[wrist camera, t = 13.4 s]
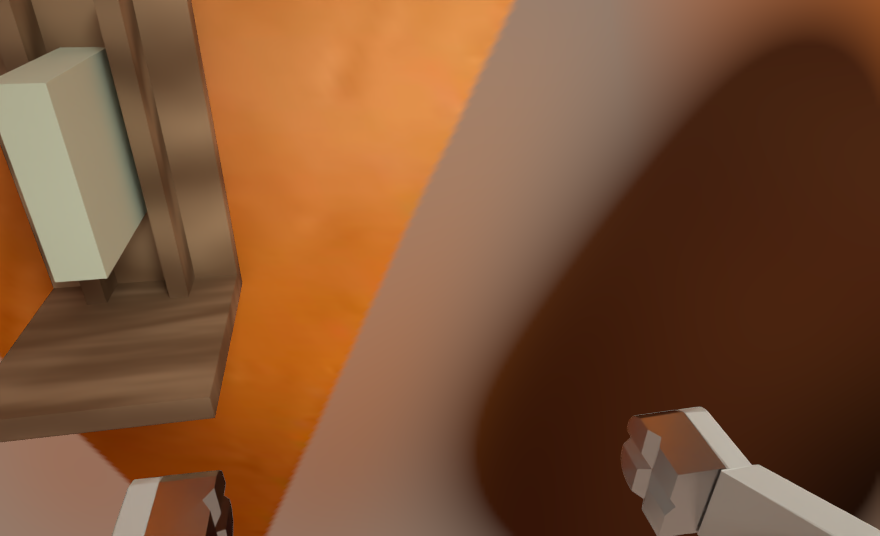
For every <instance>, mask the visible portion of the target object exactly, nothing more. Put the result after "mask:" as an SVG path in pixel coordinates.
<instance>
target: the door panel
mask: <svg viewBox="0 0 880 536" xmlns="http://www.w3.org/2000/svg"><path fill="white" fill-rule="evenodd" d="M0 134H1V137H2V140H3V142H4V145H5V148H6V150H7V153H8V156H9V159H10V161H11V164H12V167H13V169H14V172H15V175H16V177H17V180H18V183H19V186H20V188H21V191H22V194H23V196H24V199H25V202H26V205H27V207H28V210H29V213H30V215H31V218H32V221H33V224H34V226H35V229H36V232H37V234H38V237H39V240H40V242H41V245H42V248H43V251H44V253H45V256H46V259H47V261H48V264H49V267H50V270H51V272H52V275H53V278H54V280H55V282H66V281H80V280H93V279H107V278H108V276H109V275H110V273H111V271H112V270H113V268H114V266H115V265H116V263H117V261H118V259H119V258H120V256H121V254H122V253H123V251H124V249H125V248H126V246H127V244H128V243H129V241H130V239H131V237H132V236H133V234H134V232H135V231H136V229H137V227H138V226H139V224H140V222H141V220H142V219H143V217H144V215H145V214H146V212H147V208H146V204H145V200H144V196H143V192H142V188H141V184H140V181H139V177H138V173H137V169H136V165H135V161H134V157H133V153H132V150H131V146H130V142H129V138H128V134H127V130H126V126H125V122H124V118H123V115H122V111H121V107H120V103H119V99H118V95H117V91H116V87H115V84H114V80H113V76H112V72H111V68H110V64H109V60H108V56H107V53H106V49H105V47H60V48H58V49H56V50H53V51H51V52H49V53H47V54H45V55H43V56H41V57H39V58H37V59H35V60H32V61H30V62H28V63H26V64H24V65H22V66H20V67H18V68H16V69H14V70H12V71H9V72H7V73H5V74H3V75H1V76H0Z"/></svg>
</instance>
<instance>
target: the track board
mask: <svg viewBox="0 0 880 536" xmlns="http://www.w3.org/2000/svg"><path fill="white" fill-rule="evenodd" d="M60 47H105V49H106V53H107V56H108V60H109V64H110V68H111V72H112V76H113V80H114V84H115V87H116V91H117V95H118V99H119V103H120V107H121V111H122V115H123V118H124V122H125V126H126V130H127V134H128V138H129V142H130V146H131V150H132V153H133V157H134V161H135V165H136V169H137V173H138V177H139V181H140V184H141V188H142V192H143V196H144V200H145V204H146V208H147V212H146V214H145V215H144V217H143V219H142V220H141V222H140V224H139V226H138V227H137V229H136V231H135V232H134V234H133V236H132V237H131V239H130V241H129V243H128V244H127V246H126V248H125V249H124V251H123V253H122V254H121V256H120V258H119V259H118V261H117V263H116V265H115V266H114V268H113V270H112V271H111V273H110V275H109V276H108V278H107V279H93V280H80V281H66V282H55V280H54V278H53V275H52V272H51V270H50V267H49V264H48V261H47V259H46V256H45V253H44V251H43V248H42V245H41V242H40V240H39V237H38V234H37V232H36V229H35V226H34V224H33V221H32V218H31V215H30V213H29V210H28V207H27V205H26V202H25V199H24V196H23V194H22V191H21V188H20V186H19V183H18V180H17V177H16V175H15V172H14V169H13V167H12V164H11V161H10V159H9V156H8V153H7V150H6V148H5V145H4V142H3V140H2V137H1V134H0V145H1V148H2V150H3V153H4V156H5V159H6V161H7V164H8V167H9V169H10V172H11V175H12V177H13V180H14V183H15V185H16V188H17V191H18V193H19V196H20V199H21V201H22V204H23V207H24V209H25V212H26V215H27V218H28V220H29V223H30V226H31V228H32V231H33V234H34V236H35V239H36V242H37V244H38V247H39V250H40V252H41V255H42V258H43V260H44V263H45V266H46V268H47V271H48V274H49V277H50V279H51V282H52V285H53V287H54V289H53V290H52V292H51V293H50V294H49V296H48V297H47V299H46V300H45V301H44V303H43V304H42V306H41V307H40V308H39V310H38V311H37V312H36V314H35V315H34V317H33V318H32V319H31V321H30V322H29V324H28V325H27V326H26V328H25V329H24V331H23V332H22V333H21V335H20V336H19V337H18V339H17V340H16V342H15V343H14V344H13V346H12V347H11V349H10V350H9V351H8V353H7V354H6V356H5V357H4V358H3V360H2V361H1V363H0V442H7V441H16V440H24V439H33V438H42V437H50V436H59V435H68V434H77V433H86V432H95V431H103V430H112V429H121V428H130V427H138V426H147V425H156V424H165V423H174V422H182V421H191V420H200V419H209V418H215V415H216V410H217V405H218V400H219V395H220V390H221V385H222V380H223V375H224V370H225V365H226V361H227V356H228V351H229V346H230V341H231V336H232V331H233V326H234V321H235V316H236V311H237V307H238V302H239V297H240V292H241V287H242V280H241V274H240V269H239V263H238V258H237V252H236V246H235V241H234V235H233V230H232V224H231V219H230V213H229V208H228V202H227V197H226V191H225V186H224V180H223V175H222V169H221V163H220V158H219V152H218V147H217V141H216V136H215V130H214V125H213V119H212V114H211V108H210V103H209V97H208V91H207V86H206V80H205V75H204V69H203V64H202V58H201V53H200V47H199V42H198V36H197V31H196V25H195V20H194V14H193V8H192V3H191V0H0V76H1V75H3V74H5V73H7V72H9V71H12V70H14V69H16V68H18V67H20V66H22V65H24V64H26V63H28V62H30V61H32V60H35V59H37V58H39V57H41V56H43V55H45V54H47V53H49V52H51V51H53V50H56V49H58V48H60Z"/></svg>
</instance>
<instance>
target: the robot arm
mask: <svg viewBox="0 0 880 536" xmlns="http://www.w3.org/2000/svg"><path fill="white" fill-rule="evenodd" d="M627 431H628V432H629V434H630V436H631V437H630V439H628V440H627V442H626V443H625V444H624V445H623V448H622V454H621V463H622V470H623V473H624V476H625V479H626V481H627V483H628V485H629V487H630V489H631V491H633V492H634V493H636V494H637V495H639V496H641V497H642V498H643V499H644V501H643V506H642V510H643V512H644V513H645V515H646V517H647V519H648V521H649V522H650V524H651V526H652V527H653V529H654V531H655V533H656V535H657V536H674V535H681V534H689V533H696V532H698V535H699V536H880V530H878V529H876V528H875V527H873V526H871V525H869V524H867V523H865V522H863V521H862V520H860V519H858V518H856V517H854V516H852V515H851V514H849V513H847V512H845V511H843V510H841V509H840V508H838V507H836V506H834V505H832V504H830V503H828V502H826V501H825V500H823V499H821V498H819V497H817V496H816V495H814V494H812V493H810V492H808V491H806V490H804V489H803V488H800V487H799V486H797V485H795V484H793V483H791V482H790V481H788V480H786V479H784V478H782V477H780V476H779V475H777V474H775V473H773V472H771V471H770V470H768V469H766V468H764V467H762V466H760V465H751V464H750V462H749V461H748V460H747V459H746V458H745V456H744V455H743V454H742V453H741V451H740V450H739V449H738V448H737V447H736V445H735V444H734V443H733V442H732V441H731V439H730V438H729V437H728V436H727V434H726V433H725V432H724V431H723V429H721V427H720V426H719V425H718V423H717V422H716V421H715V420H714V419H713V418H712V416H711V415H710V414H709V412H708V411H707V410H705V409H704V408H702V407H694V408H687V409H679V410H670V411H663V412H656V413H650V414H642V415H636V416H633V417H632V418H631V419H630V420H629V423H628V427H627ZM225 484H226V482H225V479H224V476H223V472H222V471H220V470H216V471H206V472H197V473H187V474H178V475H168V476H163V477H153V478H144V479H135V480H133V482H132V483H131V484H130V486H129V487H128V489H127V492H126V495H125V498H124V501H123V504H122V507H121V510H120V512H119V516H118V518H117V522H116V524H115V527H114V530H113V533H112V536H233V514H232V507H231V503H230V499H228V498H227V497H225V496H224V491H225Z"/></svg>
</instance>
